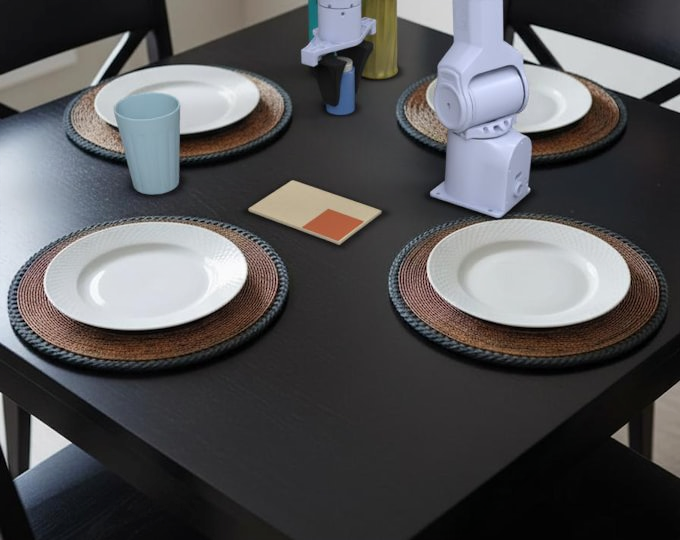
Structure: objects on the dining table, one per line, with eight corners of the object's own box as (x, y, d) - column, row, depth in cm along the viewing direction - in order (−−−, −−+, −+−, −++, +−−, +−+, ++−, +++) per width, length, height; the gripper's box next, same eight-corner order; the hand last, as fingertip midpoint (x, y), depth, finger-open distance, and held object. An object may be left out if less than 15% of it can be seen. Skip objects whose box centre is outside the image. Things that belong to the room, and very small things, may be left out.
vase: (357, 80, 153) (357, -16, 145) (356, 64, 158) (356, -30, 150) (399, 79, 153) (401, -17, 145) (396, 63, 158) (398, -30, 150)
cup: (110, 188, 127) (99, 109, 121) (153, 163, 132) (144, 86, 126) (157, 205, 123) (148, 125, 117) (200, 179, 128) (193, 101, 123)
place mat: (381, 213, 121) (381, 209, 121) (339, 245, 115) (339, 241, 115) (292, 182, 127) (292, 179, 127) (248, 211, 122) (248, 207, 121)
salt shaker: (360, 107, 145) (360, 59, 141) (343, 117, 143) (343, 69, 139) (337, 100, 147) (336, 53, 143) (320, 110, 145) (319, 62, 141)
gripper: (346, -19, 143) (347, 74, 151) (281, 11, 134) (285, 109, 141) (389, -9, 140) (387, 85, 147) (325, 22, 130) (327, 122, 138)
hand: (340, 98), depth 144 cm, fingers closed on salt shaker, 4 cm apart
